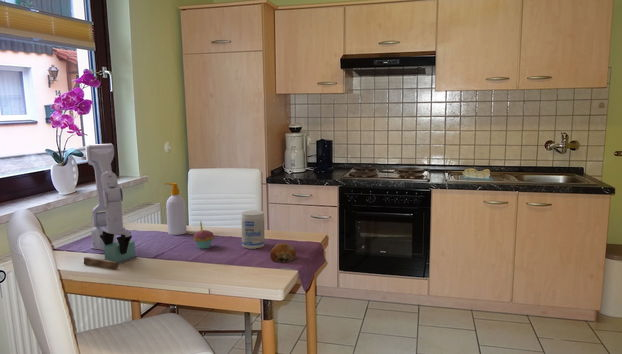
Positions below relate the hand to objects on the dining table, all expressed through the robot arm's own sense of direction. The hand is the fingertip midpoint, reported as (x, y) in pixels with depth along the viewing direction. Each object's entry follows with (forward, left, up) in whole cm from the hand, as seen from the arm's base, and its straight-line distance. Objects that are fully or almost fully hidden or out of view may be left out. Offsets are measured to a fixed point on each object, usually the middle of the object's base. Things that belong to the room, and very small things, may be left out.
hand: (116, 252), depth 183 cm
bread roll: (+59, +26, -3) cm, 65 cm away
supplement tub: (+40, +36, -3) cm, 54 cm away
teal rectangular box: (0, +1, -3) cm, 3 cm away
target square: (0, 0, -3) cm, 3 cm away
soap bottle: (-5, +41, -3) cm, 41 cm away
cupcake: (+21, +27, -3) cm, 34 cm away
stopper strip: (0, -8, -3) cm, 9 cm away
